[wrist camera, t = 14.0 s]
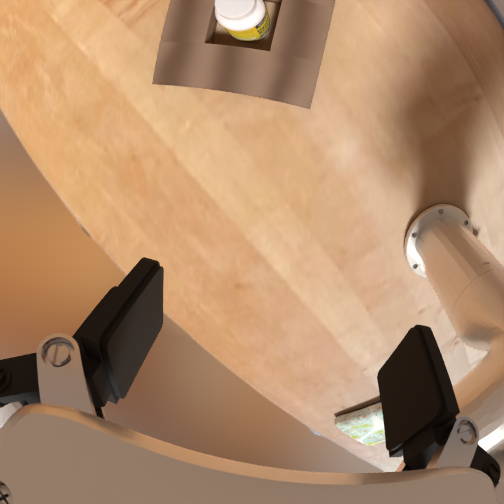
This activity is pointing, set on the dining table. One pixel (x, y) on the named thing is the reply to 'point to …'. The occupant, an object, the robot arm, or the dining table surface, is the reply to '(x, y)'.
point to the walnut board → (245, 52)
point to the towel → (363, 424)
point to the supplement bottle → (243, 18)
